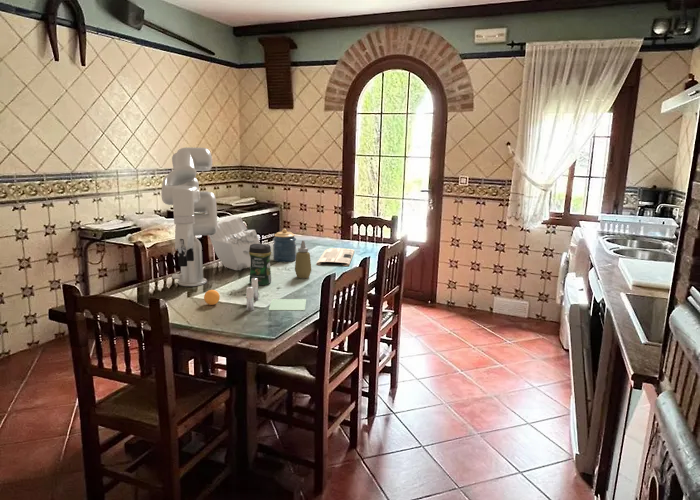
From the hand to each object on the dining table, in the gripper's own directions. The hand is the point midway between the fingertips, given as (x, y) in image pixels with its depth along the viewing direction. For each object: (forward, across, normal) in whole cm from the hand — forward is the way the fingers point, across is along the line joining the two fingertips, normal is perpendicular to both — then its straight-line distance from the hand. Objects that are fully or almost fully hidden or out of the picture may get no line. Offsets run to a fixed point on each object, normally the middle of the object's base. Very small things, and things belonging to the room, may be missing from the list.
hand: (186, 263), depth 195 cm
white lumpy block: (+16, -62, +9) cm, 65 cm away
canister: (+16, -82, +32) cm, 89 cm away
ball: (+14, 0, +9) cm, 17 cm away
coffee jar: (+17, -32, +24) cm, 44 cm away
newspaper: (+17, -87, +60) cm, 107 cm away
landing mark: (+17, 0, +39) cm, 43 cm away
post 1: (+17, +6, +25) cm, 31 cm away
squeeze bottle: (+16, -44, +44) cm, 64 cm away
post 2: (+17, -7, +25) cm, 31 cm away
